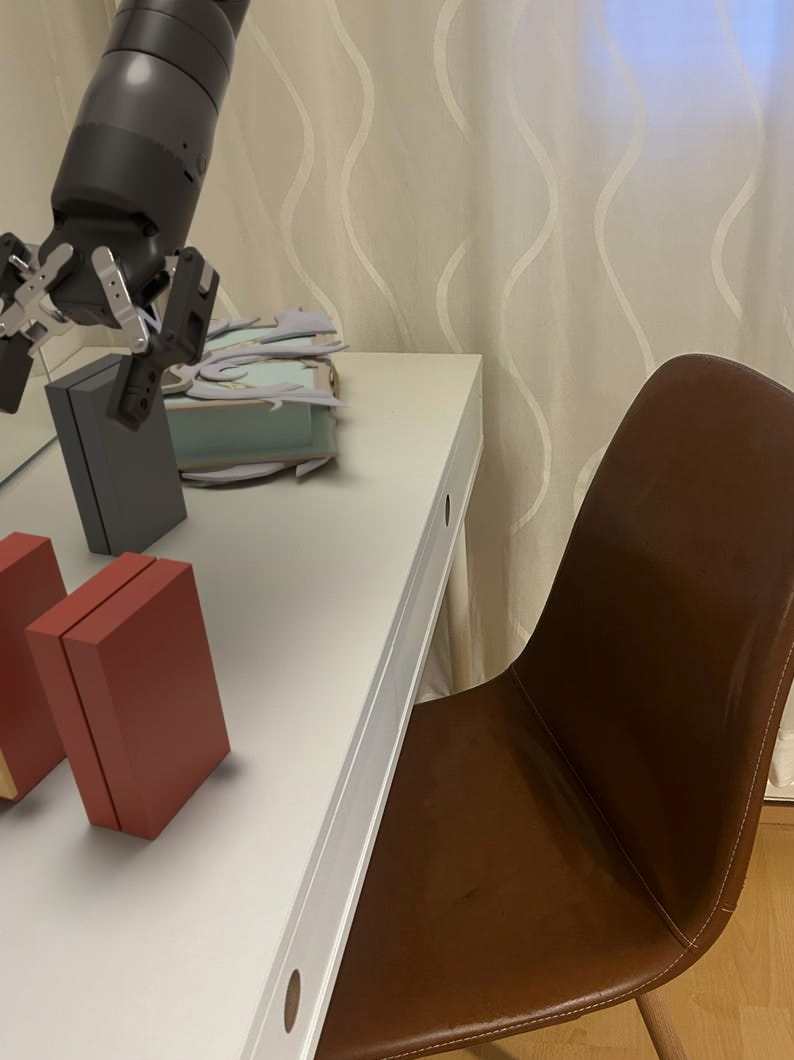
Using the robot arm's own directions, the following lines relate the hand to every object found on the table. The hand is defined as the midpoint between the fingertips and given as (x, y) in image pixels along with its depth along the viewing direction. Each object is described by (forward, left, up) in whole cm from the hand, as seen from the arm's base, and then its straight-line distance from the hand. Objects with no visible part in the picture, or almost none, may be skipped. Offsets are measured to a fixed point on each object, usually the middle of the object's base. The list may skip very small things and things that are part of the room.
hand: (58, 417), depth 55 cm
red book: (+2, -8, -18) cm, 20 cm away
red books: (+10, -6, -18) cm, 22 cm away
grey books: (-16, +14, -18) cm, 28 cm away
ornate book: (-24, +35, -18) cm, 46 cm away
